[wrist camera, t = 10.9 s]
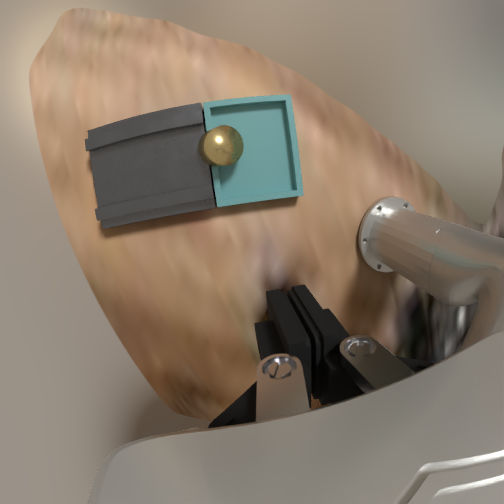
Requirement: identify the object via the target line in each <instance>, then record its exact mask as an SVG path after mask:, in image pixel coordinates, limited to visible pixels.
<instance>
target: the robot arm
mask: <svg viewBox="0 0 504 504" xmlns="http://www.w3.org/2000/svg"><path fill="white" fill-rule="evenodd" d="M363 239H364V240H363ZM358 243H359V249H360V252H361V255H362V257H363V259H364V261H365V262H366V263H367V264H368V265H369V266H370V267H372V268H373V269H375V270H376V271H379V272H393V271H396V272H397V273H399V274H400V275H402V276H403V277H405V278H406V279H408V280H410V281H411V282H413V283H414V284H416V285H417V286H419V287H420V288H422V289H423V290H425V291H426V292H428V293H429V294H431V295H432V296H434V297H435V298H437V299H438V300H440V301H441V302H443V303H445V304H447V305H449V306H455V307H460V306H466V305H469V304H472V303H475V302H477V301H478V307H477V310H476V313H475V315H474V319H473V322H472V324H471V326H470V329H469V331H468V334H467V336H466V338H465V340H464V343H463V345H462V347H461V349H460V351H459V352H458V353H456V354H454V355H452V356H450V357H448V358H446V359H444V360H442V361H439V362H436V364H433V363H431V362H427V361H421V360H415V359H409V358H404V357H399V356H395V355H393V354H392V353H391V352H390V351H389V350H387V349H386V348H385V347H384V346H383V345H381V344H380V343H379V342H378V341H377V340H375V339H374V338H372V337H369V336H365V335H354V336H351V337H350V335H349V334H348V333H347V331H346V330H345V329H344V327H343V326H342V325H341V324H340V322H339V321H338V320H337V318H336V317H335V316H334V314H333V313H332V312H331V311H330V310H329V309H322V307H321V306H320V305H319V303H318V302H317V301H316V299H315V298H314V297H313V295H312V294H311V293H310V291H309V290H308V289H307V287H306V286H305V285H299V286H293V287H292V288H291V290H290V291H288V292H287V295H288V297H287V295H286V294H285V292H280V290H279V289H277V290H271V291H266V297H267V305H268V314H269V321H263V322H258V323H255V331H256V338H257V344H258V349H259V354H260V359H261V362H260V363H259V365H258V368H257V381H256V382H255V383H254V384H253V385H252V386H251V387H250V388H249V389H248V390H247V391H246V392H245V393H244V394H242V395H241V396H240V397H239V398H238V399H237V400H236V401H235V402H234V403H233V404H231V405H230V406H229V407H228V408H227V409H226V410H225V411H224V412H222V413H221V414H220V415H219V416H218V417H217V418H215V419H214V420H213V421H212V422H211V424H210V425H209V427H208V428H205V429H199V428H198V427H196V428H192V429H189V430H184V431H180V432H173V433H166V434H161V435H156V436H151V437H146V438H143V439H140V440H136V441H133V442H130V443H127V444H125V445H123V446H121V447H118V448H116V449H115V450H114V451H112V452H111V453H110V454H109V455H108V456H107V457H106V458H105V459H104V461H103V462H102V464H101V466H100V468H99V470H98V472H97V474H96V477H95V479H94V483H93V485H92V489H91V492H90V496H89V500H88V504H504V238H500V237H496V236H492V235H488V234H485V233H482V232H479V231H475V230H472V229H469V228H466V227H463V226H460V225H457V224H454V223H451V222H448V221H444V220H441V219H438V218H435V217H431V216H428V215H424V214H421V213H417V212H416V210H415V209H414V207H413V206H412V205H411V204H410V203H409V202H408V201H406V200H404V199H402V198H398V197H386V198H383V199H380V200H379V201H377V202H376V203H374V204H373V205H372V206H371V207H370V208H369V210H368V211H367V212H366V214H365V216H364V218H363V220H362V222H361V225H360V229H359V238H358ZM311 393H312V395H313V398H314V399H319V401H320V403H321V405H326V404H329V403H331V404H330V405H327V406H323V407H320V408H316V409H312V410H310V408H311Z"/></svg>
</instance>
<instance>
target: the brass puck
mask: <svg viewBox="0 0 504 504" xmlns="http://www.w3.org/2000/svg"><path fill="white" fill-rule="evenodd" d="M243 149H244V145H243V140H242V137H241V135H240V134H239V132H238V131H237V130H236V129H235V128H233V127H231V126H228V125H221V126H218V127H215V128H213V129H211V130H209V131H207V132H205V133H204V134H203V135H202V136H201V138H200V140H199V144H198V150H199V154H200V156H201V158H202V160H203V161H204V162H205V163H206V164H208V165H210V166H213V167H221V166H226V165H231V164H234V163H236V162H237V161H238V160H239V159H240V157H241V156H242V153H243Z"/></svg>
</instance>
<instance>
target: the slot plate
mask: <svg viewBox="0 0 504 504" xmlns="http://www.w3.org/2000/svg"><path fill="white" fill-rule="evenodd" d="M204 133H205V127H204V120H203V111H202V105H201V103H196V104H190V105H185V106H179V107H174V108H169V109H165V110H160V111H156V112H151V113H147V114H143V115H139V116H135V117H132V118H128V119H124V120H121V121H117V122H114V123H111V124H107V125H104V126H101V127H98V128H95V129H92V130H89V131H88V139H85V145H86V151H90V157H91V165H92V173H93V180H94V186H95V192H96V198H97V203H98V208H97V209H95V213H96V217H97V221H99V220H101V223H102V228H103V229H106V228H110V227H115V226H119V225H124V224H129V223H134V222H139V221H144V220H149V219H154V218H160V217H165V216H170V215H176V214H182V213H187V212H193V211H199V210H205V209H211V208H215V207H216V206H215V199H214V192H213V186H212V179H211V172H210V165H208V164H206V163H205V162H204V161H203V160H202V158H201V156H200V154H199V150H198V144H199V140H200V138H201V136H202V135H203V134H204Z"/></svg>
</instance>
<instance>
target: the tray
mask: <svg viewBox="0 0 504 504" xmlns="http://www.w3.org/2000/svg"><path fill="white" fill-rule="evenodd" d="M203 107H204V115H205V123H206V131H209V130H211V129H213V128H215V127H218V126H221V125H228V126H231V127H233V128H235V129H236V130H237V131H238V132H239V134H240V135H241V137H242V140H243V145H244V149H243V153H242V156H241V157H240V159H239V160H238V161H237V162H236V163H234V164H231V165H226V166H221V167H213V166H211V168H212V175H213V182H214V188H215V195H216V202H217V207H223V206H229V205H236V204H242V203H249V202H256V201H264V200H271V199H279V198H287V197H295V196H304V195H303V185H302V176H301V167H300V158H299V150H298V142H297V135H296V128H295V120H294V114H293V107H292V101H291V95H271V96H256V97H245V98H235V99H226V100H218V101H211V102H205V103H203Z"/></svg>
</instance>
